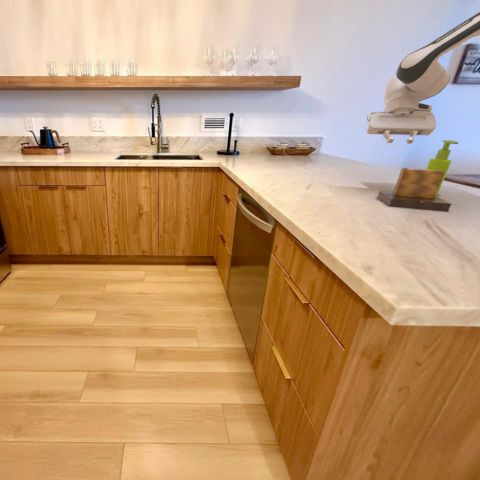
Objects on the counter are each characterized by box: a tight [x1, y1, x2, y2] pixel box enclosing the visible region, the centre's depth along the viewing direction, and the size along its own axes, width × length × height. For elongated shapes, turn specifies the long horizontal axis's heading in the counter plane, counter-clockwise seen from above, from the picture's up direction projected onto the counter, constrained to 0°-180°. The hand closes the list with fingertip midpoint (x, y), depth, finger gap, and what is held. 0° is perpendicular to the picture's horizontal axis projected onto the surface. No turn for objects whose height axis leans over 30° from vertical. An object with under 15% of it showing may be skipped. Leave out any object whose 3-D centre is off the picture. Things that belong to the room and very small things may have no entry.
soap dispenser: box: [426, 140, 459, 197], centre depth 107 cm, size 6×7×20 cm
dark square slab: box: [376, 189, 452, 212], centre depth 99 cm, size 16×15×3 cm
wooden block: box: [393, 167, 445, 199], centre depth 96 cm, size 11×2×9 cm, turn 70°
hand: (400, 142), depth 103 cm, fingers open, 5 cm apart
